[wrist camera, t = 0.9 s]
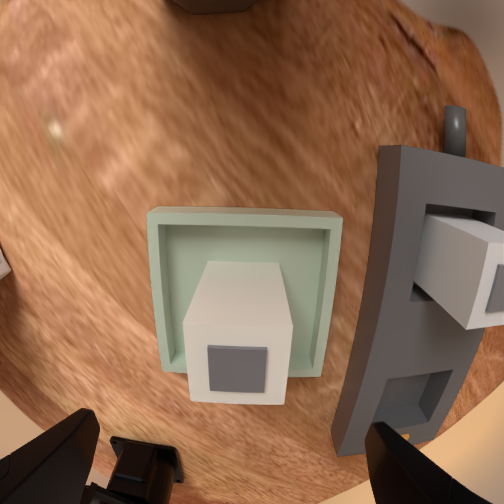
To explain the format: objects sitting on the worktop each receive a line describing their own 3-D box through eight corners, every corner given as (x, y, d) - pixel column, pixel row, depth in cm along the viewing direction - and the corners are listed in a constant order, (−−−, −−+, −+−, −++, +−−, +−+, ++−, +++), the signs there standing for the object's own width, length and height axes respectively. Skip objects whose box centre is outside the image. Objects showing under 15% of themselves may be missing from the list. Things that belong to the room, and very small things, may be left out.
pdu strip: (421, 417, 23) (434, 441, 20) (330, 430, 23) (337, 459, 20) (490, 125, 15) (521, 125, 12) (379, 96, 15) (404, 86, 12)
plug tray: (315, 358, 20) (320, 376, 18) (168, 353, 20) (162, 371, 18) (333, 211, 17) (343, 218, 16) (157, 206, 17) (146, 212, 16)
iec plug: (274, 324, 19) (284, 407, 12) (209, 322, 19) (189, 404, 12) (279, 263, 18) (293, 329, 11) (208, 260, 18) (181, 325, 11)
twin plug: (453, 274, 18) (519, 323, 11) (405, 273, 18) (468, 331, 11) (464, 215, 17) (541, 247, 10) (415, 210, 17) (491, 243, 10)
